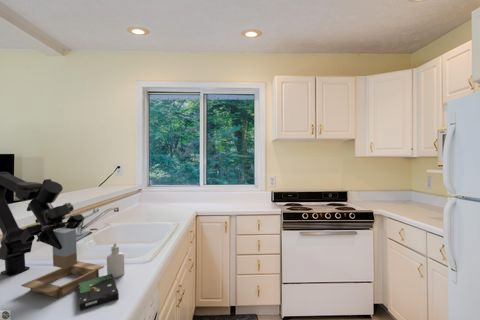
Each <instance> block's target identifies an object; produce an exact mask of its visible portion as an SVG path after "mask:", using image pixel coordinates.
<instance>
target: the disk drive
mask: <svg viewBox="0 0 480 320" xmlns="http://www.w3.org/2000/svg"><path fill="white" fill-rule="evenodd" d="M77 290H78V292H77V293H78V298H79V299H78V304H79V305H78V306H79V311H80V312H81V311H85V310H87V309H90V308H94V307H98V306H101V305H104V304H108V303H111V302H115V301H118V300H119V299H120V298H119V297H120V296H119V294H120V293H119V290H118V287H117V284H116V282H115V278H113V276H112V274H110V275H107V274H106V275H102V276H99V277H97V278H95V279H92V280H88V281H84V282H80V283H79V284H78V289H77Z"/></svg>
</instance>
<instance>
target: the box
mask: <svg viewBox="0 0 480 320" xmlns="http://www.w3.org/2000/svg"><path fill="white" fill-rule="evenodd" d="M76 231H77V229H76V228H75V229H68V228H62V229H61V228H60V229H56V230H53V232H54V235H55V236H56V238H57V239H58V241H59V242H60V244H61V246H62V248H61V249H60V250H59V249H57V248H55V247H53V246H52V261H53V262H52V263H53V264H52V266H53V267H54V268H55V267H56V268H59V269H60V268H64V269H66V268H69V267H71V266H73V265H75V264H77V261H78V259H77V257H78V253H77V252H78V251H77V232H76Z"/></svg>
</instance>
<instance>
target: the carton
mask: <svg viewBox="0 0 480 320" xmlns="http://www.w3.org/2000/svg"><path fill="white" fill-rule="evenodd" d="M103 268H105V266H104V265H100V264H97V263H95V264H94V263H91V262H90V263H89V262H84V261H81V260H80V261H79V260H77V264H75V265H73V266H71V267H69V268H66V269H64V268H60V267H59V268H57V269H55V270H53V271H51V272H48V273H45V274H44V275H41V276H39V277H37V278H35V279H32V280H30V281H27V282H25V283H23V284H21V285H20V287H23V288H28V289H30V291H32V292H36V293H38V294H39V293H40V294H44V295H47V296H50V297H54V298H58V299H61V298H63V297H64V296H66V295H68V294H70V293H72V292H74V291H75V290H78V284H79V283H80V282H84V281H88V280H92V279H95V278H97V277H100V274H99V273H100V270H101V269H103ZM69 274H74V275H78V276H79V277H77V278H75V279H73V280H71V281H69V282H67V283H64V284H62V285H55V284H51V283H52V282H54V281H56V280H59V279H60V278H63V277H66V276H68V275H69Z"/></svg>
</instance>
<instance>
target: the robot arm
mask: <svg viewBox="0 0 480 320" xmlns="http://www.w3.org/2000/svg"><path fill="white" fill-rule="evenodd" d="M7 189H8V190H10V191H12V192H14V193H15V195H14V196H15V197H16V198H17V199H18V200H20V201H21V202H26V201H30V202H29V203H27V208H26V211H27V212H32V214H33V216H34V217H35V218H36V219H35V220H34V221H35V224H34V225H30V226H26V227H25V228H21V227H20V226H19V225H18V223H17V221H16V219H15V217H14V215H13V213H12V211H11V207H9V204H8V202H7V200H6V198H5V195H6V192H7ZM62 191H63V186H62V184H60V183H58V182H56V181H53V180H52V179H51V178H47V179H46V178H45V179H43V181H42V183H40V182H35V181H25V180H23V179H21V178H19V177H17V176H15V175H13V174H11V173H10V172H9V171H0V231H1V233H2V237H1V240H0V260H1V261H4V269H5V270H2V271H0V274H2V275H5V276H9V277H10V276H12V277H13V276H14V275H17V274H20V273H22V272H24V271H27V270H29V269H30V268H31V267H30V266H26V257H25V254H28V253H31V252H32V246H33V242H34V240H35V239H36V238H37V239H36V242H37V243H39V242H41V243H43V244H46V245H49V246H51V247H52V248H53V247H55V248H57V249H59V250H60V249H61V248H62V246H61V244H60V242H59V241H58V239H57V238H56V236H55V235H54V232H53V231H55V230H58V229H62V228H68V229H75V230H76V229H77V228H79V227H80V226H81V224H82V223H83V222H84V220H85V217H84V216H83V214H81V213H76V214H74V215H70V214H71V213H72V212H73V211H74V205H73V204H72V203H71V202H66V203H64V204H63V205H58V206H55V207H54V206H53V205H52V203H55V201H56V200H57V199H58V197H59V195H60V194H61V192H62ZM67 215H70V216H69V218H67V220H65V219H66V216H67ZM35 236H36V237H35Z"/></svg>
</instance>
